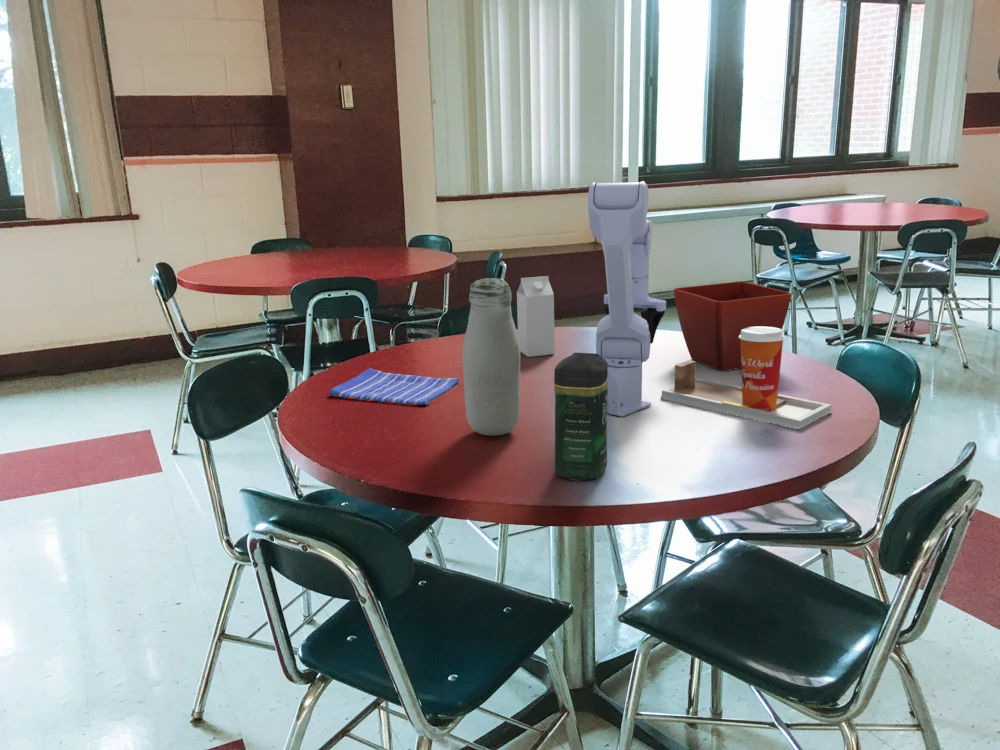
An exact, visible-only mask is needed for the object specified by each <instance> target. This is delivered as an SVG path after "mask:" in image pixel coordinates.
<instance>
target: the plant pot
mask: <svg viewBox="0 0 1000 750" xmlns="http://www.w3.org/2000/svg"><path fill="white" fill-rule="evenodd" d="M673 292H674V301H675V306H676V312H677V316H678V320H679V325H680V328H681V332H682V335H683V339H684V342H685V344H686V347H687V350H688V351H687V352H688V353H689V356H690V358H691V360H692V361H696V362H698V363H700V364H703V365H705V366H706V367H710V368H712V369H714V370H717V371H719V372H720V371H721V372H722V371H723V372H724V370H725V371H731V370H730V369H732V370H736V369H735V368H739V369H741V343H740V338H739V335H740V334H741V330H742V329H745V328H748V327H755V326H766V327H775V328H780V329H781V330H782V331H783V328H784V324H785V322H786V318H787V315H788V311H789V307H790V302H791V298H792V293H791V292H789V291H784V290H781V289H780V290H779V289H775V288H772V287H768V286H763V285H759V284H756V283H752V282H747V281H733V282H721V283H710V284H703V285H693V286H684V287H676V288H675V287H674V288H673Z"/></svg>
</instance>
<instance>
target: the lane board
mask: <svg viewBox="0 0 1000 750" xmlns="http://www.w3.org/2000/svg"><path fill="white" fill-rule="evenodd" d="M695 382H699V383H704V384H709V385H714V386H719V387H724V388H729V389H733V390H738V391H742V386H741V385H734V384H731V383H724V382H721V381H720V382H719V381H714V380H710V379H704V378H699V377H695ZM777 398H778V399H783V400H786V403H785V404H783V405H781V406H779V407H776V408H775V410H773V411H770V412H766V411H761V410H757V409H752V408H749V406H746V405H741V404H736V403H732V402H727V401H723V402H720V401H716V400H711V399H706V398H702V397H697V396H693V395H688V394H683V393H679V392H674V391H670V390H669V389H663V390H661V395H660V400H666V401H669V402H672V403H673V402H674V403H678V404H683V405H687V406H692V407H696V408H700V409H703V410H704V409H705V410H708V411H709V410H710V411H713V412H717V413H721V412H723V413H722V414H726V413H728V414H727V415H730V414H733V415H732V416H734V415H737V416H736V417H739V416H742V417H741V418H743V417H746V418H745V419H748V418H750V419H749V420H752V419H755V420H754V421H756V420H760V421H759V422H761V421H763V422H762V423H765V422H769V423H773V424H772V425H774V424H778V425H782V426H781V427H783V426H786V427H785V428H787V427H790V428H789V429H791V428H796V429H800V428H802V427H804V426H805V425H807V424H809V423H810V422H812V421H814V420H816V419H817V418H819V417H821V416H823V415H825V414H826V413H828V412H830V411H832V404H830V403H825V402H821V401H820V402H819V401H815V400H810V399H806V398H800V397H794V396H790V395H784V394H779V393H778V394H777ZM832 412H833V411H832ZM769 423H768V424H769ZM778 425H777V426H778ZM809 425H810V424H809ZM807 426H808V425H807ZM805 427H806V426H805ZM805 427H804V428H805ZM796 429H795V430H796ZM802 429H803V428H802ZM800 430H801V429H800Z"/></svg>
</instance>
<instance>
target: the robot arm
mask: <svg viewBox="0 0 1000 750" xmlns="http://www.w3.org/2000/svg"><path fill="white" fill-rule="evenodd" d="M648 186H649V185H648V184H647V183H646V182H645V181H644V180H642V181H640V182H639V181H638V182H637V181H636V182H635V181H634V182H631V181H630V182H597V181H595V182H592V183H591V185H589V188H588V193H587V194H588V195H587V210H588V211H587V212H588V220H589V229H590V232H591V235H592V236H593V237H594V238H596V239H597V240H599V241H600V242H601V243H600V244H601V248H602V251H603V256H604V264H605V265H604V267H605V278H606V289H607V290H606V291H607V294H606V293H605V294H603V304H604V305H607V306H605V307H603V311H604V312H605V313H606V315H605V316H604V317H602V318H601V319H600V320H599V322H598V323H597V325H596V326H597V328H596V334H595V336H596V337H595V338H596V339H595V354H599V356H601V357H602V358H603V359H605V360H606V361H607V363H608V396H607V414H609V415H614V416H618V417H625V416H628V415H630V414H632V413H634V412H638V411H640V410H642V409H645V408H648V407H650V406H651V405H652V402H648V401H644V400H643V399H642V398H643V362H647V361H649V360H648V359H650V355H651V353H650V352H651V344H654V340H655V336H656V333H657V329H658V327H659V324H660V322H661V320H662V318H663V317H664V316H665V313H666V312H665V311H667V301H666V300H663V299H658V298H655V297H651V296H650V295H649V279H650V278H649V273H650V271H649V268H650V267H649V266H650V264H649V263H650V254H651V244H652V239H653V222H652V220H651V219H650V220H648V217H647V215H648V209H649V187H648ZM634 308H638V309H644V310H642V311H640V315H638V314H637V313H635V310H634Z"/></svg>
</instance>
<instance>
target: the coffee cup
mask: <svg viewBox="0 0 1000 750" xmlns="http://www.w3.org/2000/svg"><path fill="white" fill-rule="evenodd" d="M739 338H740V343H741V368H740V370H741V373H740V375H741V376H740V377H741V387H742V402H743V404H744V405H746V406H749V407H751V408H759V409H766V408H769V411H768V412H770V411H773V410H775V408H776V403H777V394H779V383H780V373H781V363H782V362H781V361H782V355H783V354H782V352H783V344H784V340H786V337H785V335H784V333H783V329H782V330H781V329H780V328H775V327H766V326H755V327H748V328H745V329H742V330H741V334H740V335H739Z"/></svg>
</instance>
